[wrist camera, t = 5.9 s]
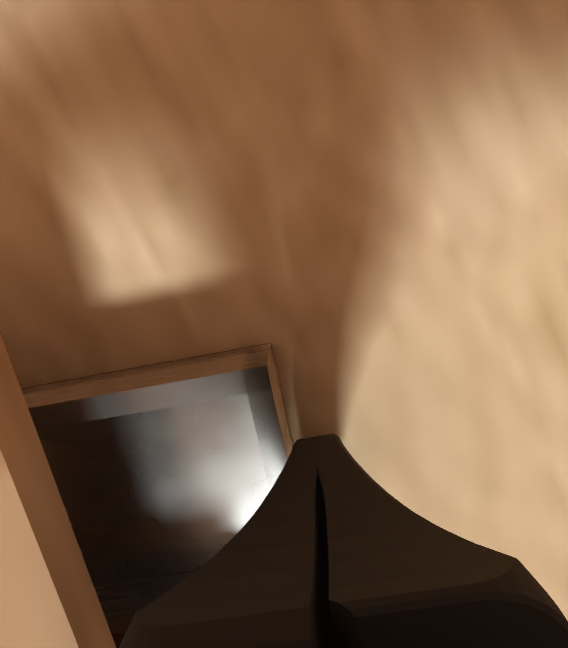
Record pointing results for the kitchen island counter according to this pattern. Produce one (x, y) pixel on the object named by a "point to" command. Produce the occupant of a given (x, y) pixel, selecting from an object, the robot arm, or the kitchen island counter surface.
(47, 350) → the kitchen island counter surface
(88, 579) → the overhang
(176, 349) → the kitchen island counter surface
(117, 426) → the tray
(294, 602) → the robot arm
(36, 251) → the kitchen island counter surface
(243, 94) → the kitchen island counter surface
